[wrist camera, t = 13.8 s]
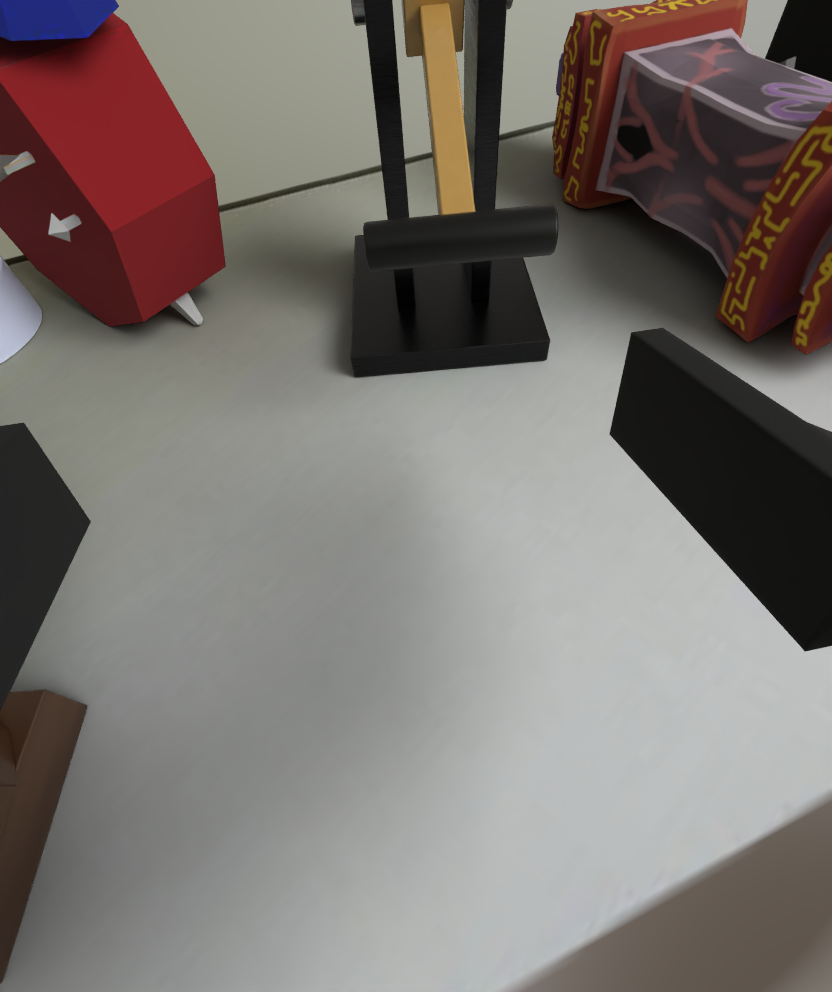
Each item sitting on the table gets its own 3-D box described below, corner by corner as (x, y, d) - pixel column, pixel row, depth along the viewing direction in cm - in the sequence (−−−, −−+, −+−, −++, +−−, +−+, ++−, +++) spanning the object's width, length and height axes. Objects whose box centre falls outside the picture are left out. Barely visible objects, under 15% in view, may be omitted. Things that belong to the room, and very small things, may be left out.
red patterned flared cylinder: (1223, 100, 16) (648, -40, 33) (1002, 167, 15) (520, -14, 31) (967, 349, 24) (611, 135, 41) (809, 408, 23) (507, 161, 39)
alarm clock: (266, 308, 30) (36, -332, 14) (152, 395, 26) (-356, -347, 10) (119, 248, 36) (-170, -260, 19) (7, 313, 32) (-473, -251, 15)
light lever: (548, 274, 17) (565, 219, 15) (372, 290, 17) (361, 238, 15) (503, -5, 20) (511, -88, 18) (355, 11, 20) (344, -69, 18)
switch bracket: (547, 361, 26) (626, -70, 14) (354, 378, 26) (264, -30, 14) (509, 240, 33) (540, -117, 20) (358, 254, 33) (299, -90, 21)
